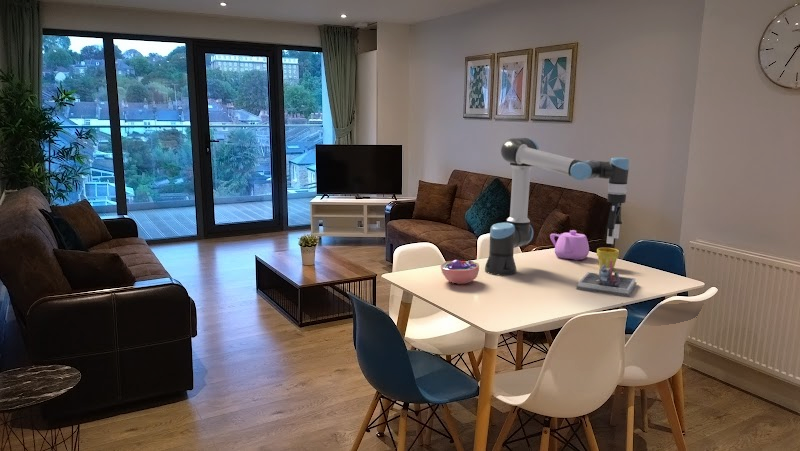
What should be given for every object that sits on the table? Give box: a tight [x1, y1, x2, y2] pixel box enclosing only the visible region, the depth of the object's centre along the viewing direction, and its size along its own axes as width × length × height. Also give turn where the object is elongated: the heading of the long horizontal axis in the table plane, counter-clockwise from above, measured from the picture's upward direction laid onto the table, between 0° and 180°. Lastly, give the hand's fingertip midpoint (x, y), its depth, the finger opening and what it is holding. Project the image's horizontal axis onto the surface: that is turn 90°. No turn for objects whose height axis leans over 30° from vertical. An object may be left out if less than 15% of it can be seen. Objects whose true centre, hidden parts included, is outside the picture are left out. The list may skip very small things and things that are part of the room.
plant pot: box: [596, 247, 620, 270], centre depth 286 cm, size 10×10×10 cm
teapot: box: [549, 229, 590, 261], centre depth 306 cm, size 23×21×15 cm
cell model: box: [439, 259, 480, 285], centre depth 256 cm, size 17×20×11 cm
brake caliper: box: [596, 260, 620, 286], centre depth 253 cm, size 11×11×12 cm
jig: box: [575, 271, 638, 298], centre depth 253 cm, size 22×22×3 cm
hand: (612, 240), depth 250 cm, fingers open, 13 cm apart
